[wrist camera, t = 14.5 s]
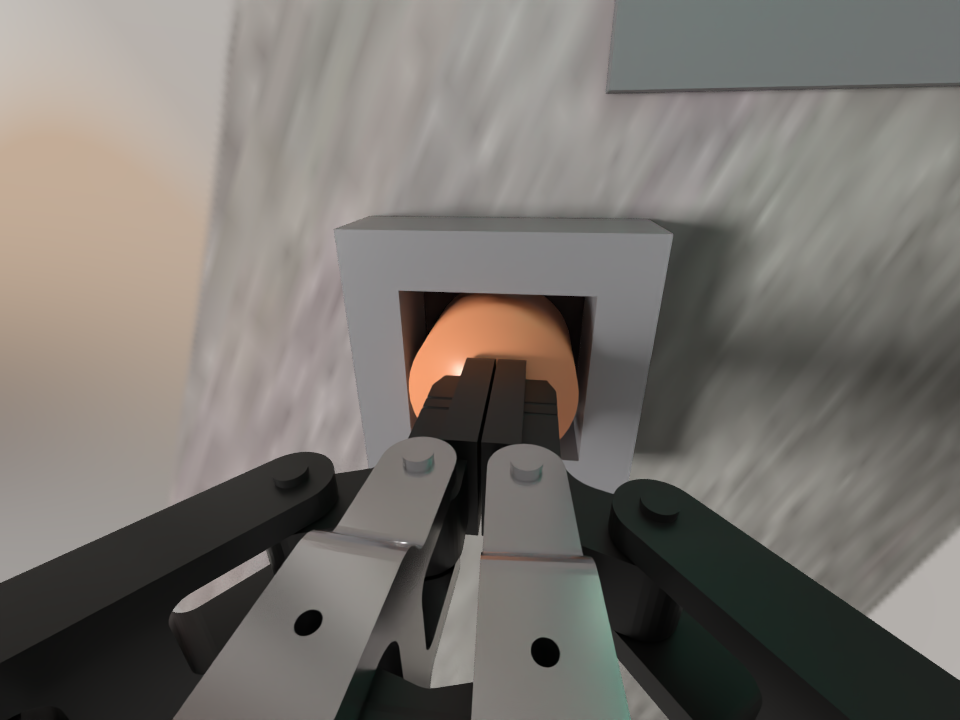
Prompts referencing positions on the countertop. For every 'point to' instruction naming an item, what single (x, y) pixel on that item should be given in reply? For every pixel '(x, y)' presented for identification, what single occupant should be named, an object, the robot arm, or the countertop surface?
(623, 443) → the button box
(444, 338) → the button
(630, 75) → the grey flat plate
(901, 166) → the countertop surface
